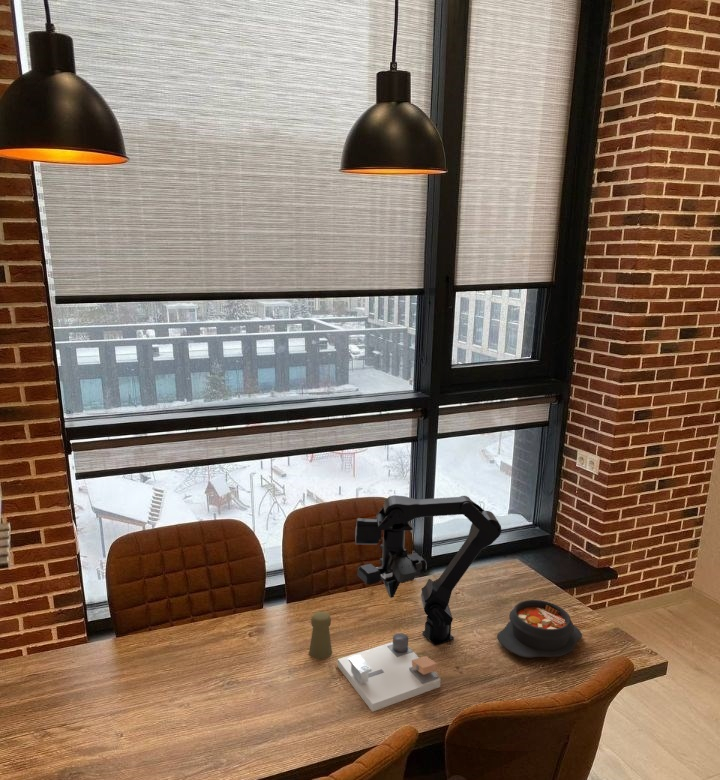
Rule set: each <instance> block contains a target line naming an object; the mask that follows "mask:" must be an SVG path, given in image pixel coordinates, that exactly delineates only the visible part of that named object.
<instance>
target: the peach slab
mask: <svg viewBox="0 0 720 780" xmlns="http://www.w3.org/2000/svg"><path fill="white" fill-rule="evenodd" d="M412 667H413V668H415V669H416V670H418V671H419V672H420V673H422V674H423V675H424V674H427V673H430V672H433V671H434V672H436V671H437V670H438V663H437V662H436V661H434V660H432V659H431V658H430V657H428V656H426V655H424V656H420V657H419V658H417V659H414V660H412Z"/></svg>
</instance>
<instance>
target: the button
mask: <svg viewBox="0 0 720 780" xmlns="http://www.w3.org/2000/svg"><path fill="white" fill-rule="evenodd" d="M392 642H393V650H394V651H395V652H398V653H404V652H406V651H407V650H408V647H409V636H408V635H407V634H405V633H402V632H401V633H394V635H393V636H392Z"/></svg>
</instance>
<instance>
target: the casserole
mask: <svg viewBox="0 0 720 780" xmlns="http://www.w3.org/2000/svg"><path fill="white" fill-rule="evenodd" d="M496 638H497V641H498V643H499V644H500V645H501V646H502V647H503V648H504V649H505V650H507V651H508V652H510V653H512V654H514V655H516V656H519V657H521V658H528V659H529V658H539V657H541V658H542V657H545V658H548V657H549V658H556V657H562V656H566V655H568V654H569V653H572V651H573V650H574V649H575V647H576V645H577V643H578V641H580V640H581V639H582V638H583V634H582V632H581V630H580V629H579V628H578V627H577V626H576V625H574V623H573V621H572V620H571V616H570V614H569V613H568V612H567V611H566V610H565V609H564V608H563V607H560V606H558V605H557V604H554V603H552V602H550V601H549V602H548V601H545V600H542V599H541V600H540V599H539V600H538V599H526V600H522V601H520V602H518V603H517V604H516V605H515V606H514V608H513V609H511V610H510V612H509V622H507V624H506V625H505V626H504V628H503V629H501V630H500V631H499V632H498V633H497V634H496Z"/></svg>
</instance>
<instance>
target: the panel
mask: <svg viewBox="0 0 720 780" xmlns="http://www.w3.org/2000/svg"><path fill="white" fill-rule="evenodd" d="M358 655H360V656H361V657H362V658H363V660H364V661H365V662H366V663H367V664H368V666H369V667H370V668H371V669H372V671H371V672H369V674H368V682H366V683H364V684H360V683H359V681H358V680H357V679H356V678H355V676H354V675H353V674H352V672H351V663H350V662H349V658H352V657H355V656H358ZM417 658H420V657H419V656H418V655H417V654H416V653H415V652H414V651H413V649H412V648H411V647H410V646H408V650H407V651H406V652H404V653H398V652H395V651H394V650H393V641H391V642H387V643H385V644H381V645H378V646H376V647H372V648H369V649H366V650H361V651H359V652H356V653H353V654H350V655H346V656H343V657H340V658H337V667H338V669H339V670H340V672H341V673H342V674H343V676H344V677H345V678H346V679H347V681H349V683H350V684H351V686H352V687H353V688H354V690H355V691H356V693H357V694H358V695H359V697H361V699H362V700H363V702H364V703H365V704H366V705H367V707H368V708H369V710H370V711H371V712H372V713H373V712H376V711H378V710H381V709H384V708H386V707H389V706H392V705H394V704H397V703H400V702H403V701H406V700H408V699H410V698H413V697H417V696H419V695H422V694H425V693H427V692H430V691H432V690H436V689H438V688H441V681H442V680H441V678H440V675H439V674H438V673H436V671H433V672H430V673H427V674H424V675H423V674H422V673H420V672H419V671H418V670H416V669H415V668H413V667H412V660H414V659H417Z"/></svg>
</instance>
